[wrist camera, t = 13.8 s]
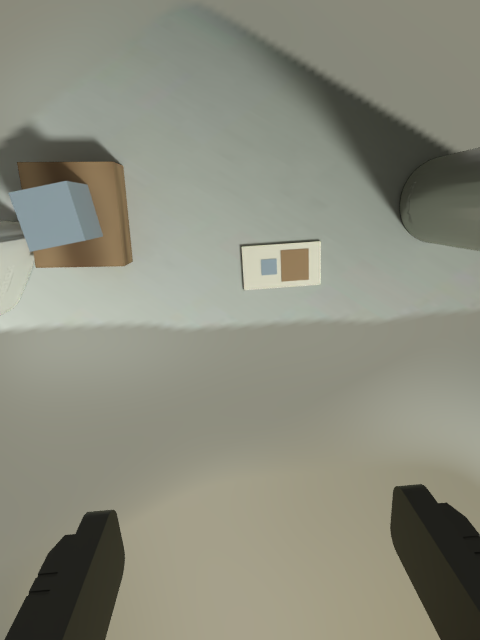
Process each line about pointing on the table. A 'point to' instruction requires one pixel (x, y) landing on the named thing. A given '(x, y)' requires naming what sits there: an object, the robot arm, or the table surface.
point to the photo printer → (13, 264)
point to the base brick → (108, 205)
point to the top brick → (56, 214)
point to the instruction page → (281, 265)
